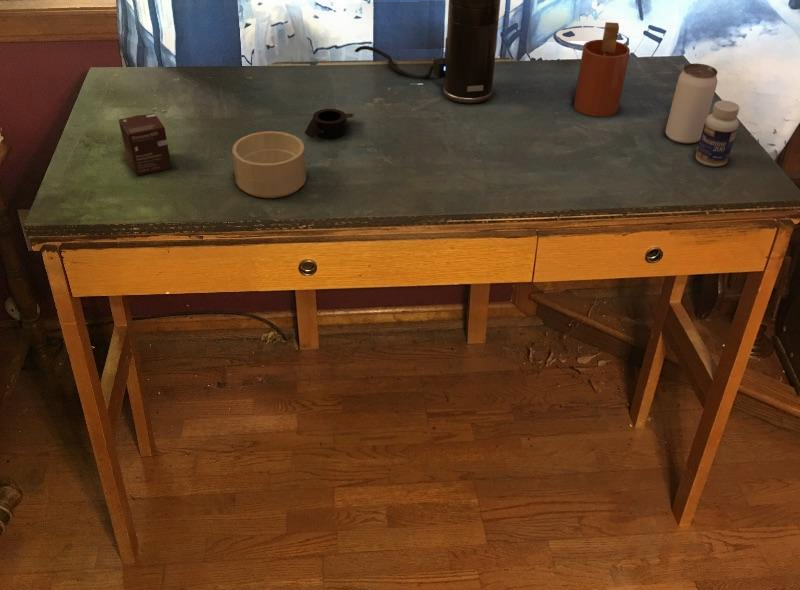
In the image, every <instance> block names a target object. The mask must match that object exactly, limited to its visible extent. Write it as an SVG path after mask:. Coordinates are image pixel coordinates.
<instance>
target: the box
mask: <svg viewBox="0 0 800 590" xmlns="http://www.w3.org/2000/svg"><path fill="white" fill-rule="evenodd" d="M118 122H119V123H118V124H119V128H120V133H121V137H122V143H123V147H124V152H125V153H124V154H125V157H126V160H127V162H128V164H129V165H130V167H131V168H132V170H133V172H134V174H135V175H136V176H142V175H147V174H151V173H157V172H161V171H165V170H169V169H172V162H171V161H172V160H171V155H170V150H169V145H168V139H167V134H166V128H165V125H163V123H162V122H161V120H160V119H159V117H158V116H157V115H156V113H155V112H153V113H148V114H139V115H138V114H137V115H133V116H130V117H123V118H119V119H118Z"/></svg>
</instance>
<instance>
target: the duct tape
mask: <svg viewBox="0 0 800 590" xmlns="http://www.w3.org/2000/svg"><path fill="white" fill-rule="evenodd" d="M354 116H355V114H354V113H350V112H349V113H345V112H344V111H342V110H340V109H336V108H323V109H319V110H317V111H316V112H314V113H313V115H312V118H311V120H310V122H309V124H308V125H307V127H306V129H305V131H304V134H305V135H307V136H308V137H310V138H314V137H318V138H319V139H323V140H336V139H341V138H342V137H344V136H345V135H346V134H347V119H350V118H352V117H354Z"/></svg>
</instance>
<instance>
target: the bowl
mask: <svg viewBox="0 0 800 590" xmlns="http://www.w3.org/2000/svg"><path fill="white" fill-rule="evenodd" d="M231 152H232V158H233V159H232V160H233V168H234V169H233V170H234V176H235V184H236V185H237V186H238V187H239V189H241V190H242V191H243V192H245V193H246V194H247V195H250V196H253V197H256V198H261V199H276V198H277V199H278V198H283V197H286V196H290V195H292V194H294V193H296V192H297V191H299V190H300V189H301V188H302V187H303V186H304V184H305V183H306V181H307V170H306V169H307V168H306V155H305V143H304V142H303V141H302V140H301V138H300V137H297V136H296V135H294V134H290V133H287V132H284V131H274V130H273V131H270V130H269V131H259V132H254V133H250V134H248V135H245V136H243V137H241V138H239V139H238V140H237V141H235V142H234V144H233V145H232V151H231Z"/></svg>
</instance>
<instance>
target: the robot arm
mask: <svg viewBox="0 0 800 590" xmlns="http://www.w3.org/2000/svg"><path fill="white" fill-rule="evenodd" d="M500 8H501V0H448V7H447V27H446V29H447V30H446V38H445V45H444V47H445V48H444V57H440V58H435V59H434V58H433V62H432V64H431V65H430V66H429V68H428V71H427V73H425V74H422V75H415V74H411V73H408V72H406V71H404V70H402V69H400V68H398V67H396V66H395V65H394V62H393V59H392V57H391V56H390V55H389V54H387V53H386V52H384V51H381V50H380V49H378V48H377V47H376V48H375V47H373V46H369V45H361V46H359V47H357V48H356V49H354V52H355V53H359V52H361V51H364V50H365V51H371V52H372V53H373V52H374V53H376V54H378V55H380V56H381V57H383V58H385V59H387V60H388V64H389V67H390V69H391V70H392V71H394V72H396V73H397V74H400V75H402V76H404V77H406V78H410V79H417V80H418V79H419V80H425V79H427V78H430V77H431V75H432V74H433V75H434V76H435V77H436V78H438V79H443V83H442V88H443V89H442V93H443V95H444V97H445V98H447V99H448V100H450V101H453V102H456V103H460V104H478V103H483V102H486V101H488V100H490V99H491V98H492V96H493V90H494V89H493V84H494V74H495V64H496V53H497V43H498V31H499V22H500Z"/></svg>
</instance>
